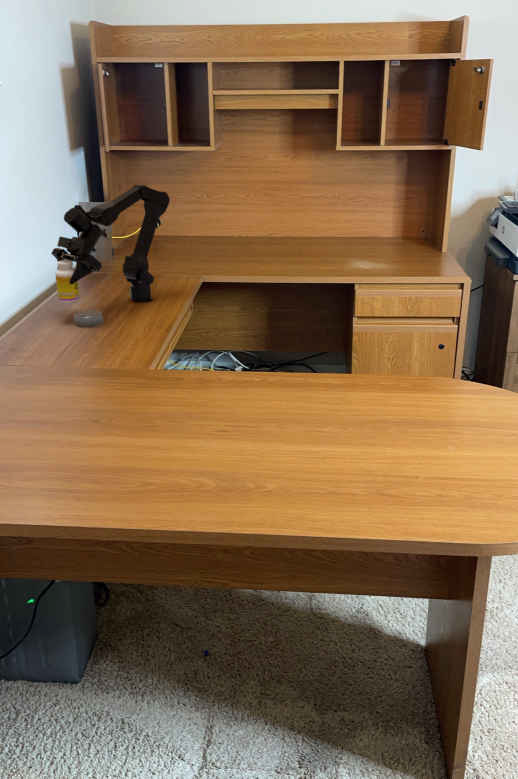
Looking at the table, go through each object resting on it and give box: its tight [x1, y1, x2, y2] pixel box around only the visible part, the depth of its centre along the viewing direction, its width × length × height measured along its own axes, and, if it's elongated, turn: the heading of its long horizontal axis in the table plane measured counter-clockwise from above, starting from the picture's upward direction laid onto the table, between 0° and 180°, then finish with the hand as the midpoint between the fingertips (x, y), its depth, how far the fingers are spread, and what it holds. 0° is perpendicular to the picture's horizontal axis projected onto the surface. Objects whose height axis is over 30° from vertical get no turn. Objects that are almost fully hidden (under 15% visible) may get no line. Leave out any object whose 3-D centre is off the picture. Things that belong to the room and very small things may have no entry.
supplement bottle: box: [55, 260, 81, 305], centre depth 226 cm, size 7×7×13 cm
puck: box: [73, 309, 104, 328], centre depth 228 cm, size 9×9×3 cm
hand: (63, 281), depth 225 cm, fingers closed on supplement bottle, 6 cm apart
